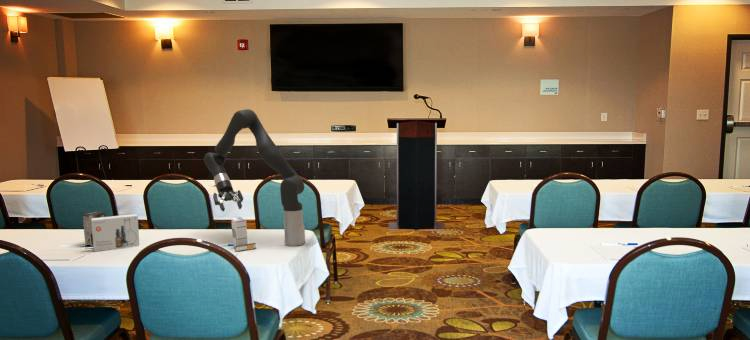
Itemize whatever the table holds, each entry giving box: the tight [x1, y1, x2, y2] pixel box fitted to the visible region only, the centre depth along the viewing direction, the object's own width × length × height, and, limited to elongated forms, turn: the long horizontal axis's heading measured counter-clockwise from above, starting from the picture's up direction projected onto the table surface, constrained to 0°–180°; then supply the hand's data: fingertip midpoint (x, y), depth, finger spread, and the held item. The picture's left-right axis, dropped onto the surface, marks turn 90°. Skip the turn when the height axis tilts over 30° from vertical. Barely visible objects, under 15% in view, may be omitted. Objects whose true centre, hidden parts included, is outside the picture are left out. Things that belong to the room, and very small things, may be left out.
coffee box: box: [82, 211, 106, 247], centre depth 307 cm, size 9×6×16 cm
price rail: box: [234, 242, 257, 253], centre depth 287 cm, size 10×2×2 cm, turn 123°
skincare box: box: [91, 213, 140, 252], centre depth 298 cm, size 21×5×16 cm, turn 117°
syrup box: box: [230, 216, 249, 249], centre depth 292 cm, size 6×6×14 cm
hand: (232, 209), depth 298 cm, fingers open, 8 cm apart
